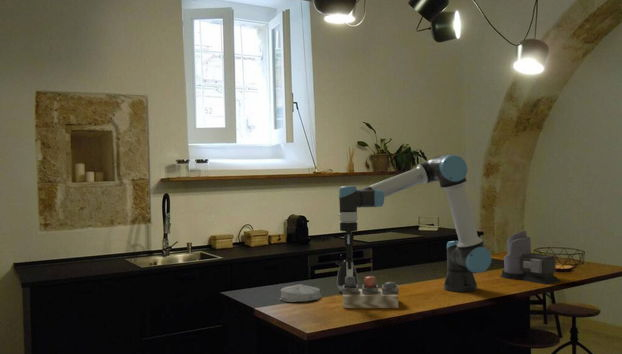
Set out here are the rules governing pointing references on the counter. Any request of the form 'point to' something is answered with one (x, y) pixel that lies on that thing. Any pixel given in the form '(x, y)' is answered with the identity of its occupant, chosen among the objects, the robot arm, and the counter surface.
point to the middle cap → (369, 281)
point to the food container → (299, 293)
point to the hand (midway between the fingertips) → (349, 276)
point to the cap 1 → (349, 282)
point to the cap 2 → (389, 284)
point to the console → (370, 297)
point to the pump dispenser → (344, 275)
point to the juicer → (527, 262)
